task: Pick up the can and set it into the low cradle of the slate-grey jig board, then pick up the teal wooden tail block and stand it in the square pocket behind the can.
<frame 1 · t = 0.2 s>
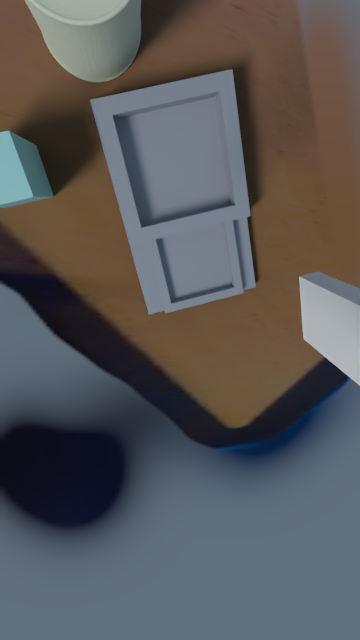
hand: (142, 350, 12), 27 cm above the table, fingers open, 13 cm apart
can: (91, 24, 30), on the table
jig: (182, 205, 37), on the table
tail block: (21, 176, 33), on the table
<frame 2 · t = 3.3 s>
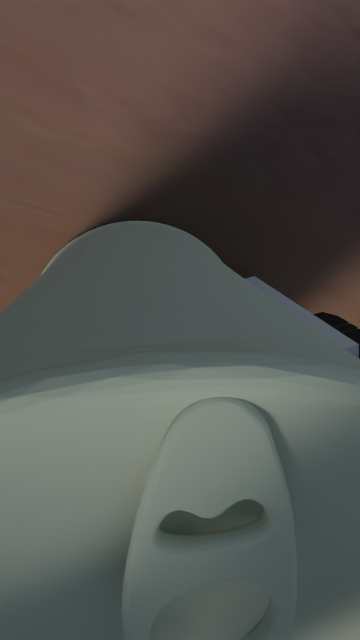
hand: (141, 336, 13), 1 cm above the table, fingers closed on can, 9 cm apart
can: (140, 325, 15), on the table, touching gripper
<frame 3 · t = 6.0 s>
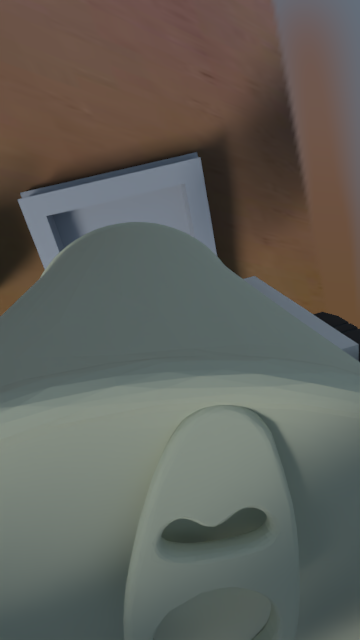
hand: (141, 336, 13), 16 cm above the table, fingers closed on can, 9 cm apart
can: (140, 326, 14), point 15 cm above the table, touching gripper
jig: (146, 304, 30), on the table
when the fingers open (4 cm above the table, at t = 8.6 s): can drops 2 cm, resting on jig.
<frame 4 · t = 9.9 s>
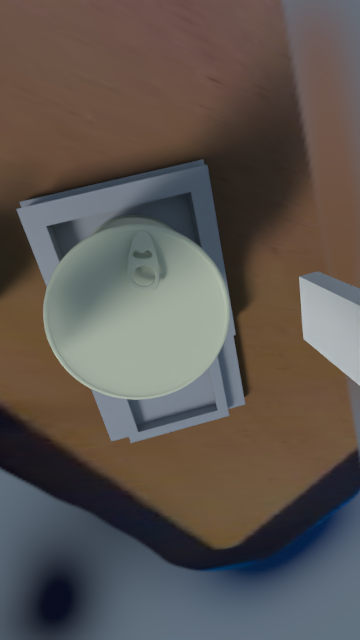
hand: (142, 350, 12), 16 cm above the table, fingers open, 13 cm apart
can: (137, 272, 26), point 1 cm above the table, touching jig
jig: (150, 316, 29), on the table
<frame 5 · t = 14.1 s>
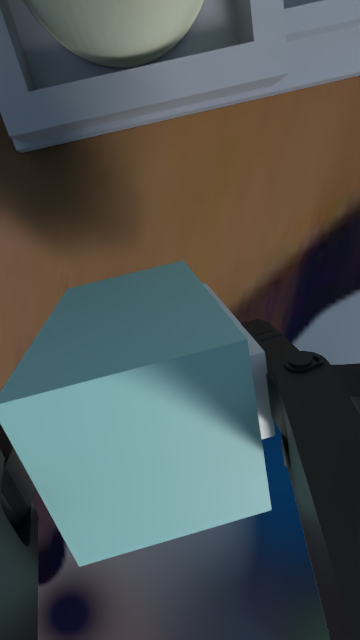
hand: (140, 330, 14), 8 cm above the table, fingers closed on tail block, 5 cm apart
tail block: (140, 327, 14), point 7 cm above the table, touching gripper
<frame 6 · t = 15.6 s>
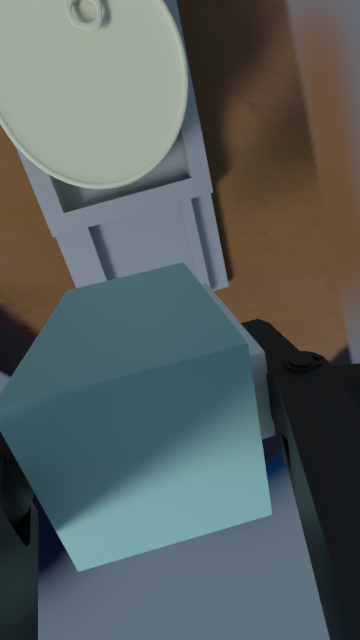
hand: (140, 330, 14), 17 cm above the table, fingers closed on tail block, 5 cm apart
can: (106, 124, 25), point 1 cm above the table, touching jig
jig: (124, 182, 28), on the table
tail block: (140, 329, 14), point 17 cm above the table, touching gripper
when the fingers open (2 cm above the table, at t = 18.7 s): tail block stays where it is, resting on jig.
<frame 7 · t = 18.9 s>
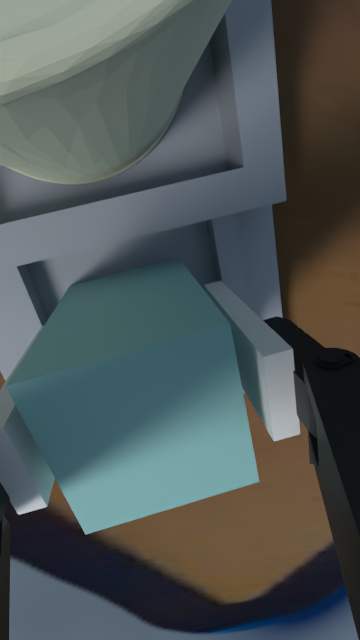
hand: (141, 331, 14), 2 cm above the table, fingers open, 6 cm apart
can: (57, 41, 11), point 1 cm above the table, touching jig
jig: (99, 174, 14), on the table
tail block: (139, 321, 15), point 1 cm above the table, touching jig
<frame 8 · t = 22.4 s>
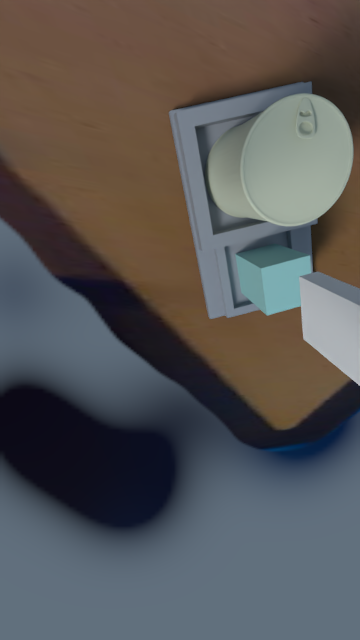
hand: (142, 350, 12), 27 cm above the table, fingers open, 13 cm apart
can: (245, 173, 35), point 1 cm above the table, touching jig
jig: (248, 213, 37), on the table
tail block: (257, 268, 39), point 1 cm above the table, touching jig
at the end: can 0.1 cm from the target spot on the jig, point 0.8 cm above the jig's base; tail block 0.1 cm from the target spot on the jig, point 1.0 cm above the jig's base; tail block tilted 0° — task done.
